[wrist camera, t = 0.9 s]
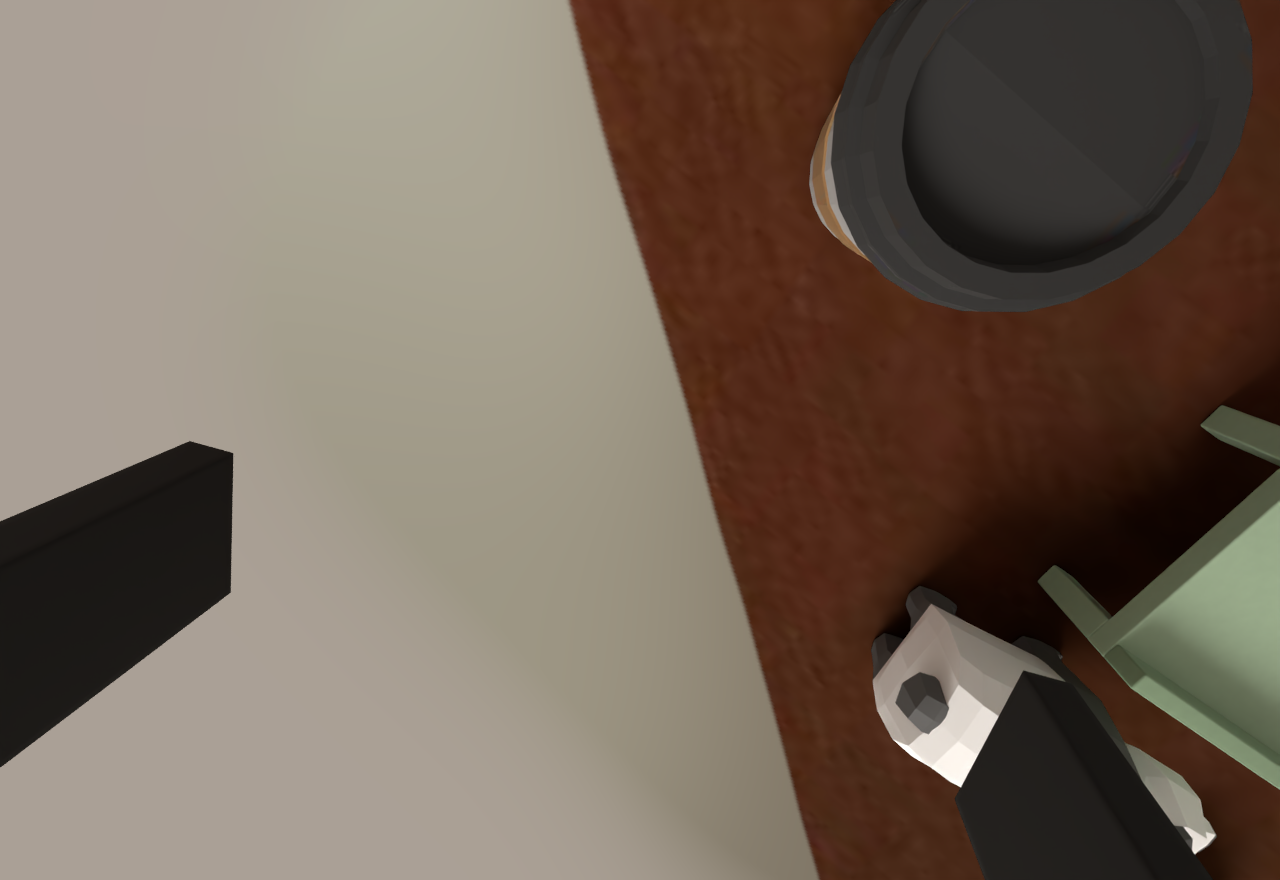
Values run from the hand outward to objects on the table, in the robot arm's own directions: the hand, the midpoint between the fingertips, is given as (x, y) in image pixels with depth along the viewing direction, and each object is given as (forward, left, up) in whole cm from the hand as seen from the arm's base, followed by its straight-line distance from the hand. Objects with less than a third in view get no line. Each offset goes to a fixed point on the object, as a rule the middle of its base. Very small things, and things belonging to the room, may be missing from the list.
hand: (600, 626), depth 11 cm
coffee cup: (-12, +3, -22) cm, 25 cm away
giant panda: (+4, +22, -22) cm, 31 cm away
